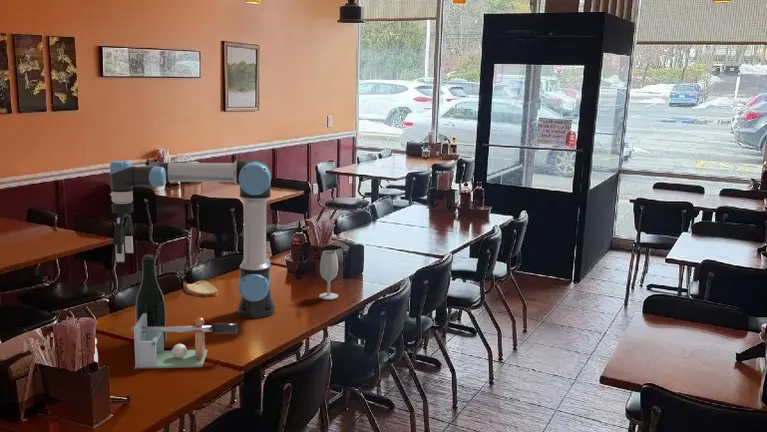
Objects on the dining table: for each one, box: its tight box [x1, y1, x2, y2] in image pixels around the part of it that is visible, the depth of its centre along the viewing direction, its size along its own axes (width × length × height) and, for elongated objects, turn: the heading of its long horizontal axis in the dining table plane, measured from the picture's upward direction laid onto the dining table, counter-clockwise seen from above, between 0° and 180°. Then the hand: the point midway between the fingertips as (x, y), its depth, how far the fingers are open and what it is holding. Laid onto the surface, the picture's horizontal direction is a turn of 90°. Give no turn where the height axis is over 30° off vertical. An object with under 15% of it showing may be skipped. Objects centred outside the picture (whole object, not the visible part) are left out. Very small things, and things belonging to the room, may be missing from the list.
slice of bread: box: [184, 279, 220, 298], centre depth 312 cm, size 18×18×4 cm
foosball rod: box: [130, 316, 238, 358], centre depth 234 cm, size 35×6×14 cm, turn 97°
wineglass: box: [318, 250, 339, 301], centre depth 305 cm, size 9×9×21 cm
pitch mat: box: [134, 349, 208, 370], centre depth 235 cm, size 22×14×1 cm, turn 97°
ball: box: [171, 343, 188, 359], centre depth 235 cm, size 5×5×5 cm
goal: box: [133, 313, 165, 369], centre depth 233 cm, size 7×14×14 cm, turn 7°
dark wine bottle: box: [135, 254, 167, 344], centre depth 246 cm, size 10×10×33 cm
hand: (125, 257), depth 260 cm, fingers open, 13 cm apart
